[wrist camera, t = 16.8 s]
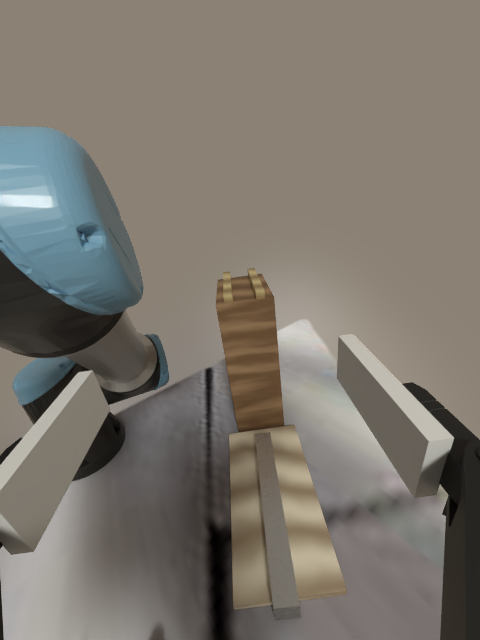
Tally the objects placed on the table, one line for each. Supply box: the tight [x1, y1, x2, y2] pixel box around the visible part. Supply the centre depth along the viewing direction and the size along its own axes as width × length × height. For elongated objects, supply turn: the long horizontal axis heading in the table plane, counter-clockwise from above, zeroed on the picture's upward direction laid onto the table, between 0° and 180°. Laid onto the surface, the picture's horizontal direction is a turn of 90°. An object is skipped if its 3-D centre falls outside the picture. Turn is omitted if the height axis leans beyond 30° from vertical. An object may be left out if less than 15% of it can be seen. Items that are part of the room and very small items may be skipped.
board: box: [229, 425, 347, 610], centre depth 44 cm, size 26×14×1 cm, turn 3°
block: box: [255, 432, 301, 620], centre depth 40 cm, size 24×3×3 cm, turn 2°
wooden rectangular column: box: [216, 268, 284, 432], centre depth 57 cm, size 16×10×32 cm, turn 3°
